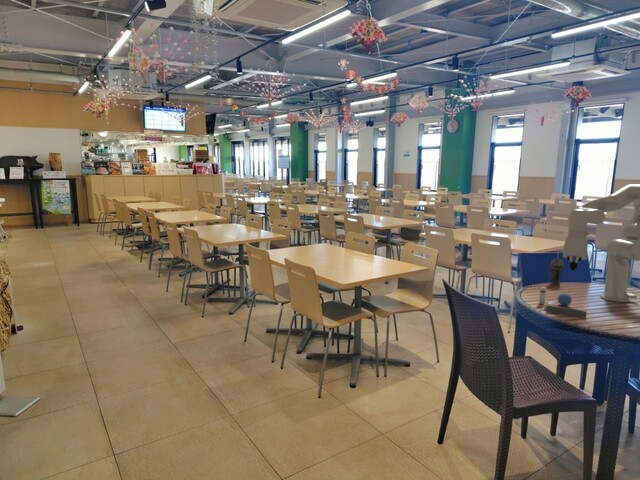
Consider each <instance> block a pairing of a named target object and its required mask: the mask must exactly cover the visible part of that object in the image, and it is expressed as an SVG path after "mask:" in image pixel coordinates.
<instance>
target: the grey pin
mask: <svg viewBox="0 0 640 480" xmlns="http://www.w3.org/2000/svg"><path fill="white" fill-rule="evenodd" d="M546 290H547V287H545V286H541V287H540V291H539V302H538V304H539V305H541V304H543V305H542V306H544V305H546V304H545V303H546V294H547V293H546Z"/></svg>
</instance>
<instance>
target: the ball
mask: <svg viewBox="0 0 640 480" xmlns="http://www.w3.org/2000/svg"><path fill="white" fill-rule="evenodd" d="M557 302H558V304H559V305H561V306H562V307H566V306H569V305H570V304H571V303H572V297H571V296H570V295H569V294H567V293H561V294H559V295H558V297H557Z"/></svg>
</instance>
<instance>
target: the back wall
mask: <svg viewBox="0 0 640 480" xmlns="http://www.w3.org/2000/svg"><path fill="white" fill-rule="evenodd" d="M587 311H588V310H583V309H578V308H571V307H566V306H558V305H547V309H546V313H554V314H559V315H564V316H570V317H571V316H572V317H575V318H582V319H586V318H587Z"/></svg>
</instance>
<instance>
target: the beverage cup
mask: <svg viewBox="0 0 640 480" xmlns="http://www.w3.org/2000/svg"><path fill="white" fill-rule="evenodd" d="M559 251H560V250H557V256H556V257H557V258H556V257H555V258H553V259H552V260H551V262H550V263H549V266H550V284H551V285H554V286H560V284H561V280H562V279H561V278H562V274H563V269H564V266H565V264H564V261H563V259H561V258H559V253H560V252H559Z"/></svg>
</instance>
